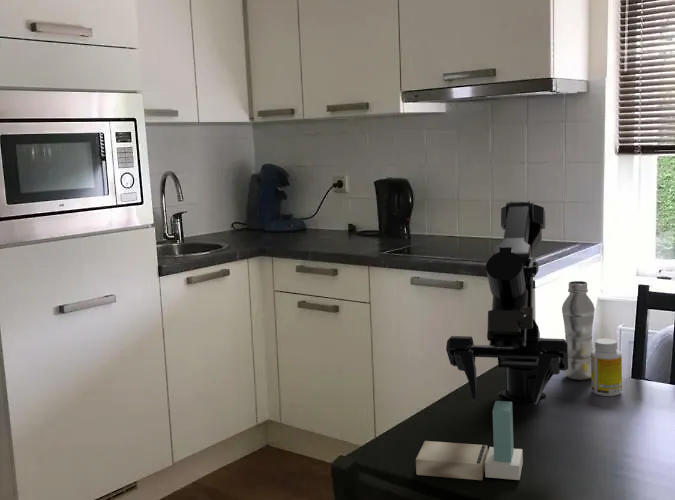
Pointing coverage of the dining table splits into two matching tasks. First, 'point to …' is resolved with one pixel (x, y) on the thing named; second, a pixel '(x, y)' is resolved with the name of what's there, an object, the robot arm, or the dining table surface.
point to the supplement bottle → (606, 368)
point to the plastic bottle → (578, 330)
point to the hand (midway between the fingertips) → (504, 401)
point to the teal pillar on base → (503, 446)
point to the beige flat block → (452, 460)
